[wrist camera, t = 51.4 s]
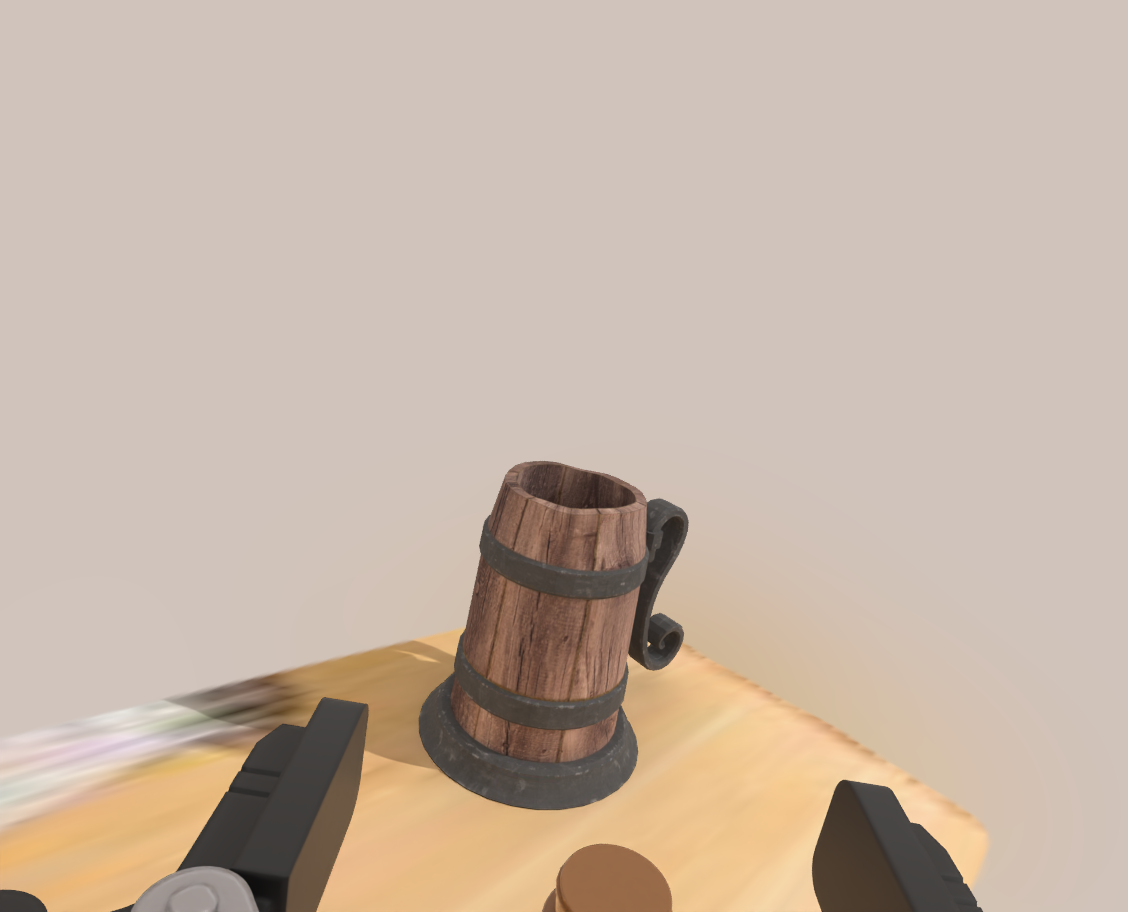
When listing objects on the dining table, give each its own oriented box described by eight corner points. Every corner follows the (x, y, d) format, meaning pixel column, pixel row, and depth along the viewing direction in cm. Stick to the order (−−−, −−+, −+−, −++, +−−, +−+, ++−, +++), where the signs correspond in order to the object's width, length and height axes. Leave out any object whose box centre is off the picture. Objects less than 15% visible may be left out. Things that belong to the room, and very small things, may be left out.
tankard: (502, 845, 47) (559, 551, 42) (378, 695, 59) (409, 451, 54) (736, 736, 63) (800, 509, 57) (600, 634, 74) (642, 438, 69)
